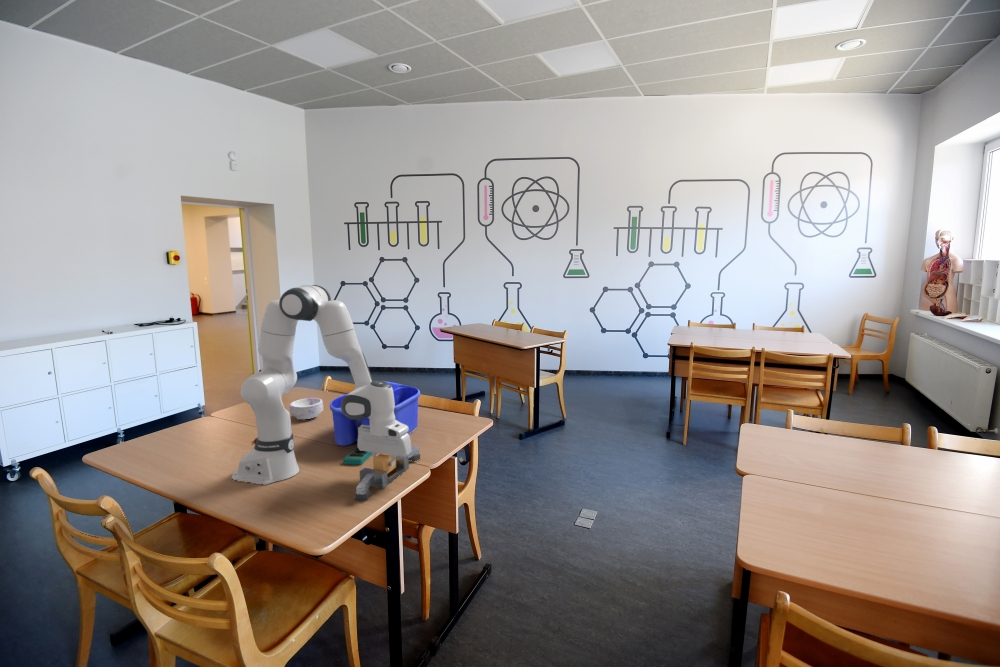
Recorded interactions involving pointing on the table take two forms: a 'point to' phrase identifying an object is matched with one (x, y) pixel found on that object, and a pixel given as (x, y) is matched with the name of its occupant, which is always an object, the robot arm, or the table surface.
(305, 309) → the robot arm
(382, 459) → the light orange rectangular block
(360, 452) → the digital multimeter
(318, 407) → the paper bowls
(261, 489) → the table surface
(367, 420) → the caddy
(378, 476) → the grey long piece
